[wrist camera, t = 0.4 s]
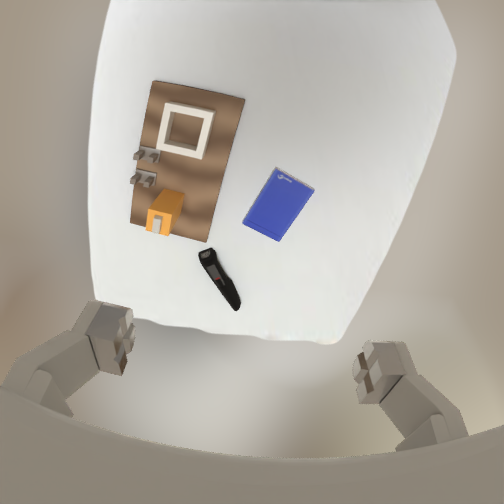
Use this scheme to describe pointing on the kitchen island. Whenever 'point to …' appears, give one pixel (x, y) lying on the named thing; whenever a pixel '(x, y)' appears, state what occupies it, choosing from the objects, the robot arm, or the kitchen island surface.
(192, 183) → the board
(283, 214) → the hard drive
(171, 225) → the connector plug
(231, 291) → the electric trimmer
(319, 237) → the kitchen island surface
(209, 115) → the end holder
